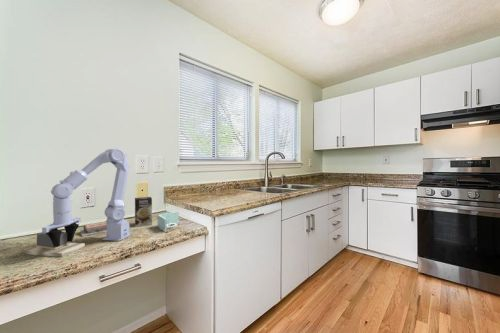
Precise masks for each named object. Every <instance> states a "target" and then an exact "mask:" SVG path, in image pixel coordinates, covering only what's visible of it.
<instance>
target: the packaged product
mask: <svg viewBox="0 0 500 333" xmlns="http://www.w3.org/2000/svg"><path fill="white" fill-rule="evenodd" d="M79 231H80V236H81V237H83V238H84V237H88V236H94V235H99V234H105V233H107V227H106V221H100V222H94V223H87V224H84V225H83V229H80V230H79Z"/></svg>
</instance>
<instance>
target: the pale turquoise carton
mask: <svg viewBox="0 0 500 333" xmlns="http://www.w3.org/2000/svg"><path fill="white" fill-rule="evenodd" d="M179 214H180V213H179V211H173V212H166V213H160V214H157V228H159V229H160V230H162V232H164V233H166V232H167V231H168V230H173V229H176V228H177V227H178V226H179V225H178V224H179V222H180V220H179V219H180V218H179V217H180V216H179Z"/></svg>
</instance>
